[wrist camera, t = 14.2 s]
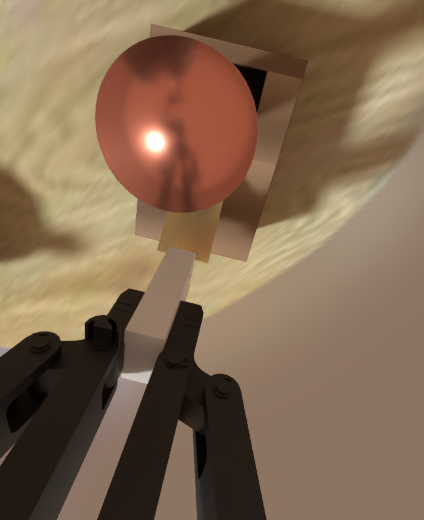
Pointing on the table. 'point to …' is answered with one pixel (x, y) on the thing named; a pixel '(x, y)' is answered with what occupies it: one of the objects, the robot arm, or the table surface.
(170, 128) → the red-capped peg
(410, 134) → the table surface
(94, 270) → the table surface
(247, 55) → the block
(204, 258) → the golden rectangular bar
